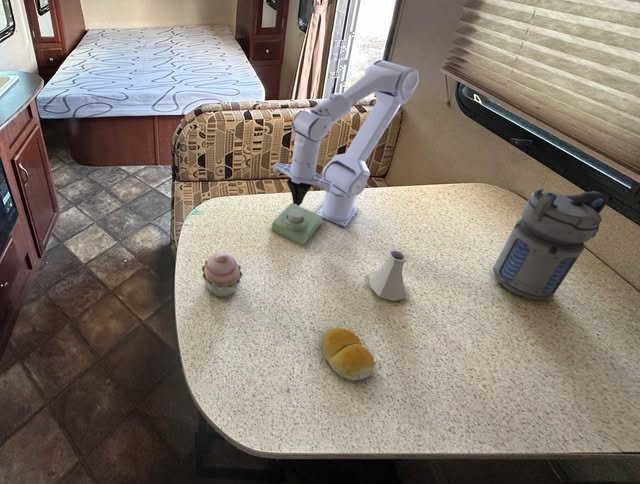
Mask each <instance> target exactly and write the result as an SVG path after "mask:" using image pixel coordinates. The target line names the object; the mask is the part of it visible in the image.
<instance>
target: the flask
mask: <svg viewBox="0 0 640 484" xmlns="http://www.w3.org/2000/svg"><path fill="white" fill-rule="evenodd" d="M388 254H389V256H388V259H387V260H386V261H385V263H384V264H383V265H382V266H381V267H380V268H378V269H377V270H376V271H375V272H373V273H372V274H371V275H370V276H369V277H368V280H369V281H368V282H369V287H370V288H371V290H373V292H374V293H375V294H376V295H377V296H378V297H379V298H382V299H386V300H389V301H393V302H396V301H400V300H404V299H406V292H405V291H406V290H405V284H404V278H403V269H404V268H403V267H404V264H405V263H407V259H408V258H407V255H406V254H405V253H404V252H403V251H400V250H397V249H394V250H393V249H392V250H390V251H388Z"/></svg>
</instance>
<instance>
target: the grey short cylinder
mask: <svg viewBox="0 0 640 484" xmlns="http://www.w3.org/2000/svg"><path fill="white" fill-rule="evenodd" d="M288 219H289V221H291V222H293V223H301V222H302V219H303V212H302V211H301V210H299V209H291V210H289V214H288Z"/></svg>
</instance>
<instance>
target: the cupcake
mask: <svg viewBox="0 0 640 484" xmlns="http://www.w3.org/2000/svg"><path fill="white" fill-rule="evenodd" d="M241 269H242V266H241V265H240V264H238V262H237V260H236V258H235V257H233V256H232V255H231V254H229V253H227V252H219V253H213V254H211V255H210V256H209V257H208V259H206V260H204V265H202V266H201V271H202V275H201V277H202V279H203V280H204V281H205V283H206V286H207V289H208V290H209V292H210V293H211V294H212V295H214V296H215V297H218V298H219V297H220V298H226V297H229V296H231V295H232V294H234V292H235V291H236V289H237V286H239V284H240V283H241V278H243V276H244V273H243V272H242V271H241Z"/></svg>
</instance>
